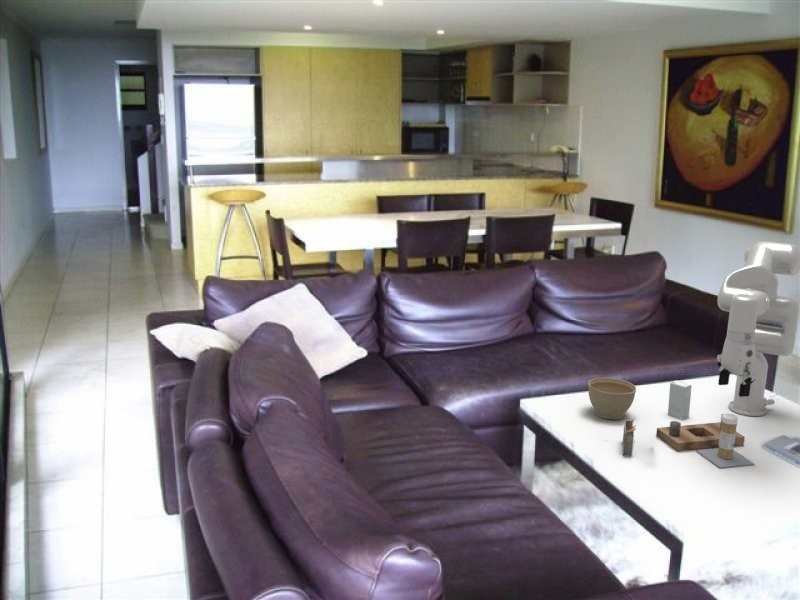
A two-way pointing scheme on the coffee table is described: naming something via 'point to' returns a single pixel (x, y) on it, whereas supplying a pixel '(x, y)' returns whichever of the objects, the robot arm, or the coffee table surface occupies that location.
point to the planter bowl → (611, 397)
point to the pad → (724, 463)
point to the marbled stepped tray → (628, 437)
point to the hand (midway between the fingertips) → (733, 390)
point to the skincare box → (679, 399)
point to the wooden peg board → (694, 436)
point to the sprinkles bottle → (727, 436)
